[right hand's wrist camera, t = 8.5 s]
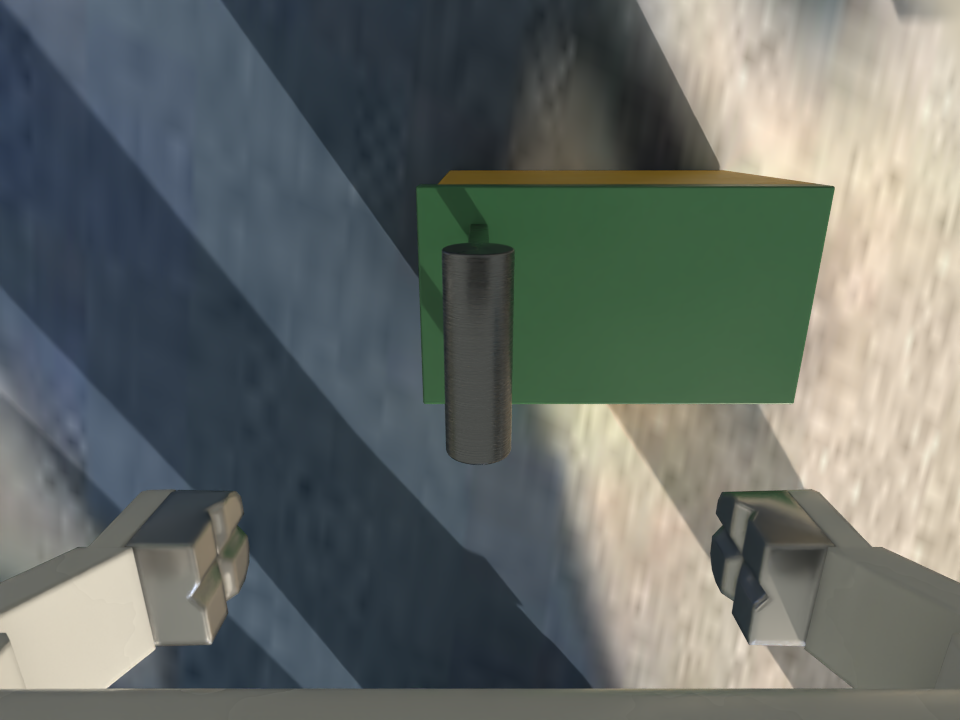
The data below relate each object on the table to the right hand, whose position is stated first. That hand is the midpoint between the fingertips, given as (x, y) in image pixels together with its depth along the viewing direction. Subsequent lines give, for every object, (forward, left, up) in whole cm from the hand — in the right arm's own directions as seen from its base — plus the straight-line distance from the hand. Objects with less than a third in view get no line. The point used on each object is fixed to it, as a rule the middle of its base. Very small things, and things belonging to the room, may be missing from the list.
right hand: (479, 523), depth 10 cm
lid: (+3, +5, -16) cm, 17 cm away
